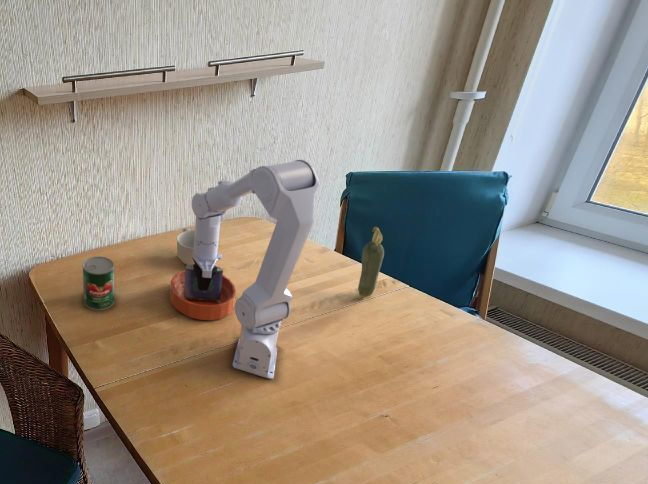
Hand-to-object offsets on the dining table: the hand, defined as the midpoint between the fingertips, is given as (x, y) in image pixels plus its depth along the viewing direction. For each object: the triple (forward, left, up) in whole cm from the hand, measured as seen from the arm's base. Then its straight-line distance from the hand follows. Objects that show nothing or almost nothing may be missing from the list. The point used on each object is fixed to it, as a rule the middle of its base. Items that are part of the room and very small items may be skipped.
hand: (202, 285), depth 108 cm
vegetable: (+18, -37, -5) cm, 41 cm away
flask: (0, 0, -4) cm, 4 cm away
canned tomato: (-11, +24, -5) cm, 27 cm away
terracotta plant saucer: (0, 0, -5) cm, 5 cm away
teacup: (+19, +7, -5) cm, 21 cm away
